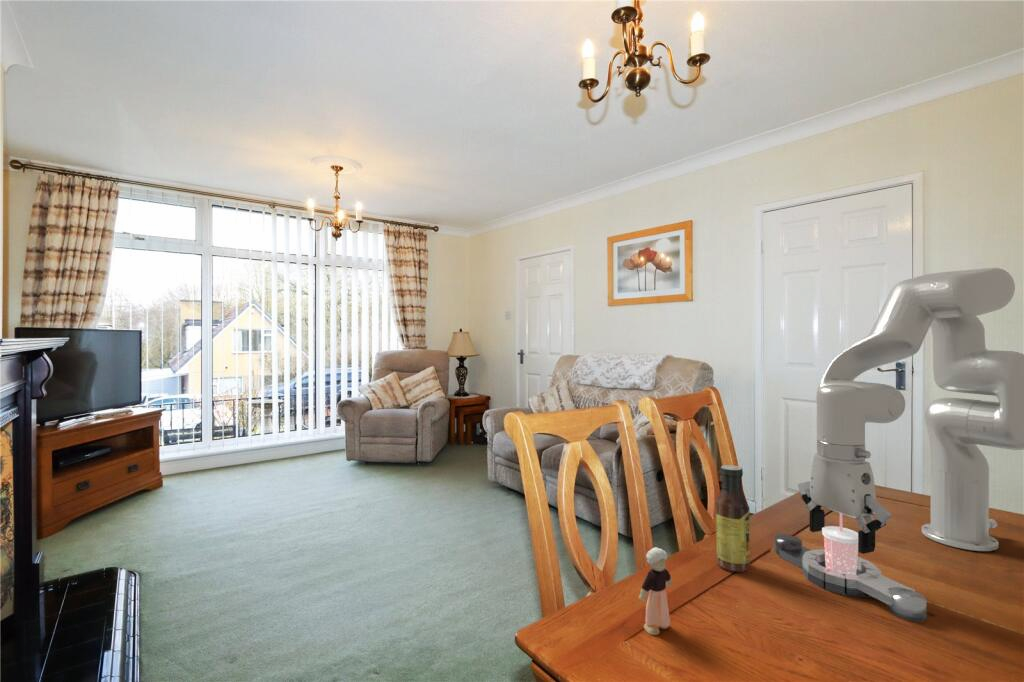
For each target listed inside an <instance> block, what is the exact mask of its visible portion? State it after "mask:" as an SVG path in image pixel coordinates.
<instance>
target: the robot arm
mask: <svg viewBox="0 0 1024 682" xmlns="http://www.w3.org/2000/svg"><path fill="white" fill-rule="evenodd" d="M1015 290H1016V285H1015V280H1014V278H1013V277H1012V275H1011V274H1010V273H1009V272H1008V271H1006V270H1005V269H1004V268H1000V267H987V268H975V269H974V268H973V269H968V270H965V269H964V270H953V271H943V272H933V273H928V274H922V275H918V276H916V277H913V278H908V279H904V280H902V281H900V282H897V283H896V284H895V285H894V286H893V287H892V288H891V290H890V291H889V294H888V295H887V297H886V300H885V301H884V304H883V306H882V308H881V309H880V312H879V314H878V315H877V318H876V320H875V322H874V324H873V326H872V329H871V331H870V332H869V334H868V335H866V336H864V337H863V338H862V339H860V340H858V341H856V342H855V343H853V344H852V345H850V346H849V347H847V348H846V349H845V350H843V351H842V352H841V353H839V354H838V355H836V356H835V357H834V358H833V359H832V361H831V362H830V363H829V365H828V366H827V368H826V370H825V371H824V374H823V376H822V377H821V380H820V382H819V383H818V384H819V385H818V387H817V391H816V397H815V400H816V453H815V454H814V455H813V459H812V463H811V464H812V465H811V471H810V479H809V481H805V482H801V483H797V487H798V490H799V492H800V494H801V499H802V500H803V502H804V504H805V505H806V506H805V507H806V510H807V511H808V512H809V531H810V532H811V533H817V532H822V528H823V527H825V525H826V524H825V523H826V522H825V517H826V516H825V510H824V509H822V508H825V509H828V510H831V511H833V512H836V513H839V514H840V513H841V514H843V515H844V516H847V517H850V518H854V520H855V522H856V523H857V524H858V526H859V527H860V529H861V530H858V531H857V533H858V553H859V554H862V555H865V554H869V553H873V552H874V551H875V549H876V531H877V532H878V531H880V529H882V528H884V527H885V526H886V525H887V523H888V521H889V520H890V518H891V517H892V513H891V512H890V511H889V510H888V509H886V508H885V507H884V506H883V505H882V504H881V503H879V502H878V501H877V495H876V484H875V478H874V474H873V469H872V465H871V463H870V461H868V460H867V461H866V459H870V458H871V456H872V454H871V452H870V451H869V450H866V423H869V424H870V423H872V424H889V423H892V422H895V421H896V420H898V419H899V418H900V417H901V416H902V415H903V414H904V412H905V408H906V400H905V396H904V395H903V394H902V392H901V390H899V389H898V388H896V387H895V386H892V385H889V384H885V383H880V382H879V383H878V382H867V381H866V382H865V381H856V380H855V379H856V378H857V377H859V376H860V375H862V374H863V373H865V372H867V371H870V370H871V369H874V368H877V367H881V366H883V365H888V364H891V363H895V362H899V361H901V360H904V359H907V358H910V357H912V356H915V354H917V353H918V352H919V351H920V350H921V347H922V345H923V343H924V340H925V338H926V337H927V334H928V331H929V329H930V330H931V335H932V370H933V378H934V379H933V380H934V382H935V384H936V386H937V387H938V388H940V389H942V390H943V391H947V392H948V391H949V392H954V393H961V394H971V395H972V394H973V395H983V396H993V397H996V398H997V399H998V401H991V400H989V401H988V400H981V399H973V398H972V399H971V398H960V397H942V398H941V397H940V398H937V399H934V400H933V401H931V402H930V403H929V404H928V405H927V406H926V408H925V412H924V419H925V425H926V429H927V434H928V441H929V448H930V523H925V524H923V525H921V533H922V534H923V535H924V536H925V537H927V538H929V540H932V541H934V542H937V543H940V544H942V545H945V546H949V547H952V548H957V549H962V550H967V551H975V552H992V551H993V550H994V551H996V550H998V549H999V541H998V540H997V539H996V538H994V537H993V536H992V535H990V534H989V530H991V529H995V528H997V527H998V523H997V521H996V520H995V519H993V518H989V517H990V515H989V514H990V513H989V512H990V511H989V509H990V508H989V506H990V505H989V503H990V502H989V499H990V498H989V497H990V495H989V494H990V492H989V490H990V488H989V487H990V485H989V483H990V467H989V462H988V460H987V458H986V457H985V455H984V453H983V452H982V451H981V449H980V448H979V447H978V446H977V445H979V446H985V447H991V448H998V449H1004V450H1013V451H1024V353H1022V352H1019V351H1014V350H994V349H993V350H991V349H990V350H988V349H987V347H986V337H985V336H986V333H985V330H986V329H985V326H984V324H983V322H982V321H981V319H980V318H979V317H978V316H982V315H986V314H989V313H992V312H995V311H999V310H1002V309H1003V308H1004V307H1006V306H1007V305H1008V304H1010V303H1011V301H1012V299H1013V297H1014V295H1015ZM875 515H876V516H875ZM873 516H875V518H874V517H873ZM994 551H993V552H994Z"/></svg>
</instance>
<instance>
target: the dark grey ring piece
mask: <svg viewBox="0 0 1024 682" xmlns="http://www.w3.org/2000/svg"><path fill="white" fill-rule="evenodd" d="M811 550H812V549H810V548H808V547H806V546H804V545H803V540H802V539H801V538H799V537H797V536H795V535H791V534H786V533H785V534H783V533H779V534H776V535H774V552H775V554H776V555H778V556H779V558H781V559H783V560H785V561H787V562H789V563H791V564H793V565H794V566H796V567H799V568H800V569H801V571H802V572H801V573H802V574H803V575H804V577H805V578H806V579H807V580H808V582H810V583H812V584H813V585H816V586H818V587H819V588H821V589H823V590H825V591H828V592H831V593H836V594H839V595H841V596H847V597H856V598H870V597H872V596H870V595H868V594H866V593H864V592H862V591H860V590H858V589H856V588H847V587H846V586H845V587H843V586H839V585H836V584H832V583H829V582H825V581H823V580H821V579H819V578H817V577H815V576H814V575H812V574H810V573H808V572H807V570H806V569H805V568H804V567H803V565H802V557H803V555H804V553H805V552H806V551H811ZM818 564H819V565H821V566H823V567H825V568H826V562H825V561H824V562H819V563H818ZM859 574H863V572H862V571H861V570H858V569H857V571H856V575H859Z"/></svg>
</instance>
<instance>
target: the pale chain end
mask: <svg viewBox="0 0 1024 682" xmlns="http://www.w3.org/2000/svg"><path fill="white" fill-rule="evenodd" d="M810 550H811V551H806V552H805V553H804V555H803V557H802V565H803V567H804V568H805V569H806V570H807V572H808V573H810V574H812V575H814V576H815V577H817V578H819V579H821V580H823V581H825V582H829V583H832V584H836V585H839V586H843V587H845V586H846V587H847V588H856V589H858V590H860V591H862V592H864V593H866V594H868V595H870V596H871V597H872V598H874V599H876V600H878V601H879V602H882V603H884V604H886V605H887V610H888V612H890V613H891V614H892V615H894V616H895V617H897V618H900V619H902V620H905V621H907V622H908V621H910V622H913V623H914V622H915V623H922V622H925V621H927V598H926V597H925V596H924V595H922V594H920V593H919V592H917V591H916V590H915V589H914V588H911V587H909V586H906V585H904V584H903V583H900V582H898V581H896V580H893V579H892V578H889V577H887V576H885V575H883V574H882V571H881V569H880V568H878V567H877V566H876V565H875V564H874V563H873V562H871V561H869V560H867V559H865V558H863V557H860V556H858V558H857V569H858V570H861V571H862V572H863V574H859V575H853V574H843V573H839V572H836V571H832V570H829V569H827V568H825V567H823V566H821V565H819V564H818V563H819V562H824V561H825V549H820V548H818V549H810Z"/></svg>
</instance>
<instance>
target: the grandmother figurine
mask: <svg viewBox="0 0 1024 682" xmlns="http://www.w3.org/2000/svg"><path fill="white" fill-rule="evenodd" d="M667 560H668V554H667V552H666V551H665V550H663V549H662V548H658V547H657V546H656V547H653V548H651V549H650V550H648V551H647V553H646V561H647V564H649V566H650V568H651V569H650V570H649V571H648V572H647V575H646V576H645V579H644V581H643V583H642V586H641V589H640V592H639V593H640V594H639V595H638V600H639V601H640V602H645V601H646V598H647V601H646V605H645V621H644V622H645V623H644V625H643V628H644V630H645V631H646V632H647V634H649V635H651V636H658V635H659V634H660V632H661V631H660V629H662V630H667V629H668V628H670V626H671V619H670V618H671V617H670V612H669V611H670V610H669V605H668V595H667V590H666V587H672V586H673V581H672V577H671V574H670V572H669V571H668V570H667V568H666V566H667V562H666V561H667ZM647 596H648V597H647Z"/></svg>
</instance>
